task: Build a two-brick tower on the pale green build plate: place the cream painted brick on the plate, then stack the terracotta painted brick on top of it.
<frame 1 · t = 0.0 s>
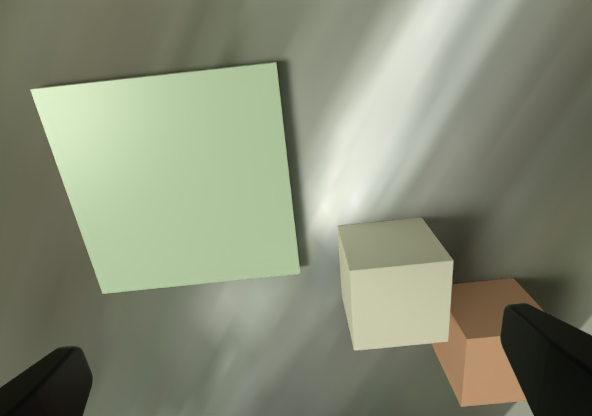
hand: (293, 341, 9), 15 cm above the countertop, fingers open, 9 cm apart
build plate: (182, 186, 23), on the countertop
terracotta brick: (470, 312, 27), on the countertop
cream brick: (379, 257, 25), on the countertop
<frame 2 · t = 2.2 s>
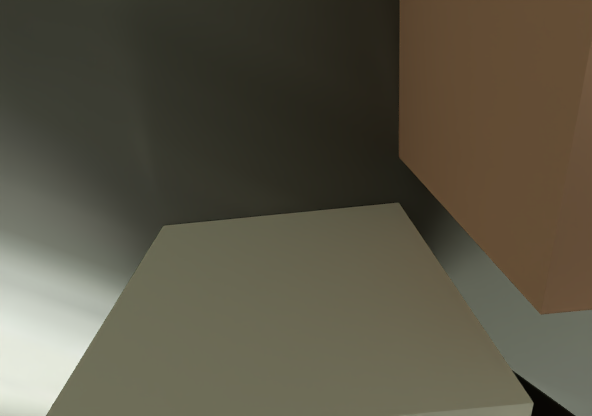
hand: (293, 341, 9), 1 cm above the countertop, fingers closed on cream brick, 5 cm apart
terracotta brick: (539, 5, 7), on the countertop
cream brick: (292, 309, 10), on the countertop, touching gripper
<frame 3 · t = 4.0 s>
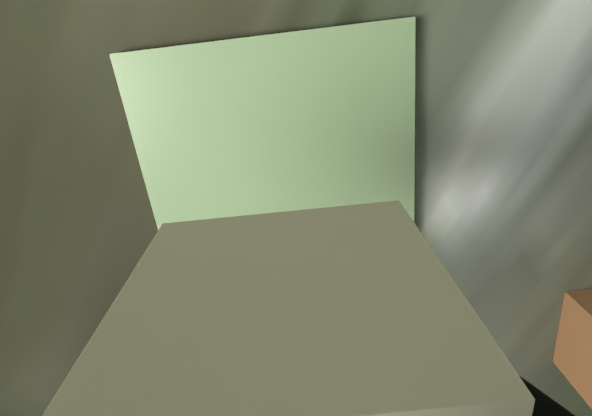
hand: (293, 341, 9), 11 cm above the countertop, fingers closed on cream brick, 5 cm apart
build plate: (280, 174, 19), on the countertop
cream brick: (292, 308, 9), point 10 cm above the countertop, touching gripper
when the fingers open (3 cm above the countertop, at t = 5.9 s): cream brick drops 1 cm, resting on build plate.
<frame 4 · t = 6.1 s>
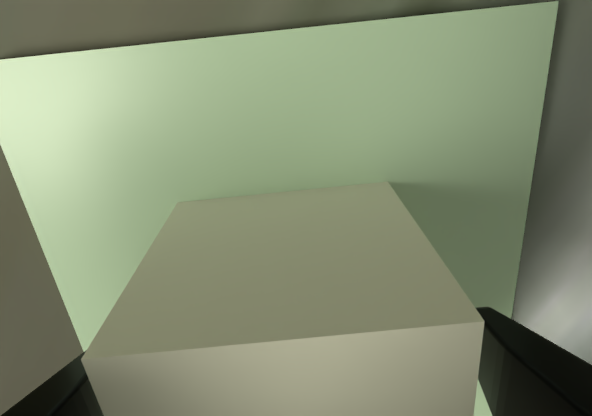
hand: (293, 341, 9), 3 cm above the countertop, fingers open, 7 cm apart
build plate: (290, 264, 11), on the countertop
cream brick: (292, 280, 11), point 1 cm above the countertop, touching build plate
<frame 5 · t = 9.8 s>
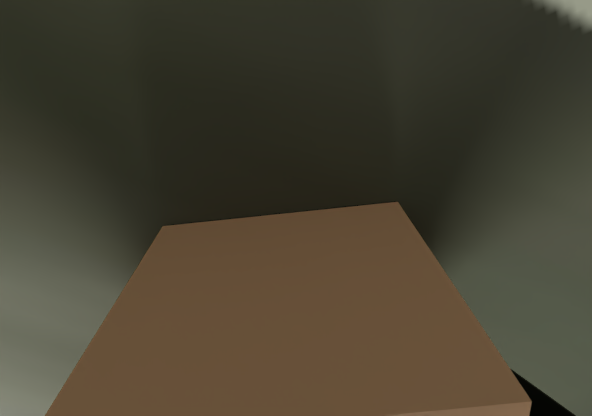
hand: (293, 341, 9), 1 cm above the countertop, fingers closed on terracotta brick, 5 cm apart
terracotta brick: (292, 309, 10), on the countertop, touching gripper
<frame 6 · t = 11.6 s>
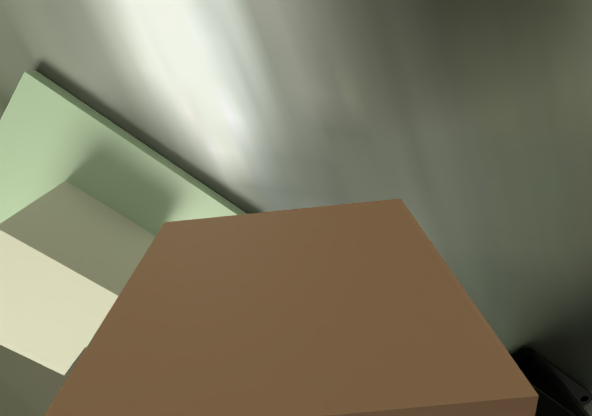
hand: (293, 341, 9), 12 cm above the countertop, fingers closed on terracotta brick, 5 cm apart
build plate: (96, 239, 21), on the countertop
terracotta brick: (293, 306, 9), point 11 cm above the countertop, touching gripper
cream brick: (89, 246, 20), point 1 cm above the countertop, touching build plate
when the fingers open (8 cm above the countertop, at t = 13.4 s): terracotta brick drops 1 cm, resting on cream brick.
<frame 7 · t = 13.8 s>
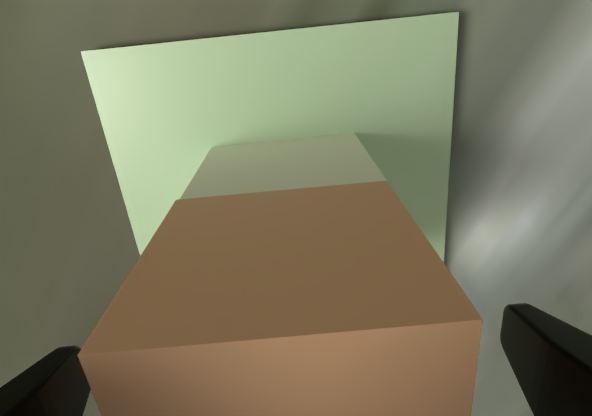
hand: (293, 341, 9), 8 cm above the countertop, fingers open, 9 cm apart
build plate: (288, 197, 16), on the countertop
terracotta brick: (290, 279, 11), point 6 cm above the countertop, touching cream brick
cream brick: (289, 204, 15), point 1 cm above the countertop, touching build plate, terracotta brick
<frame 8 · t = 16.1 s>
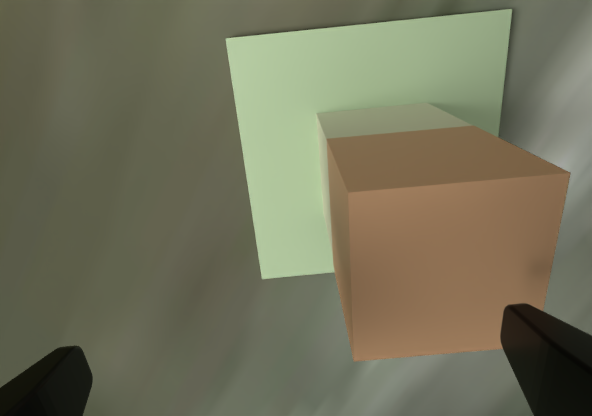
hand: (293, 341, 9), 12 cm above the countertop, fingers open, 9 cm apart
build plate: (367, 156, 20), on the countertop
terracotta brick: (398, 200, 15), point 6 cm above the countertop, touching cream brick
cream brick: (372, 160, 19), point 1 cm above the countertop, touching build plate, terracotta brick
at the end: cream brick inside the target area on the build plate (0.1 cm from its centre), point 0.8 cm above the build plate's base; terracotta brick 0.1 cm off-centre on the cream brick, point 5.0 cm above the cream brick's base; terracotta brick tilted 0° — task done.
